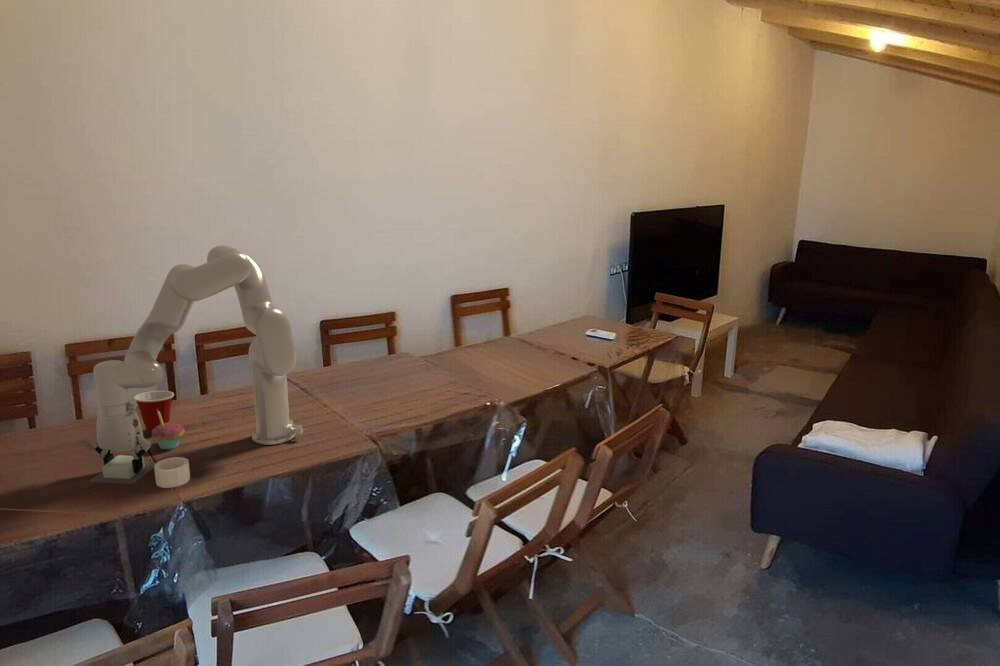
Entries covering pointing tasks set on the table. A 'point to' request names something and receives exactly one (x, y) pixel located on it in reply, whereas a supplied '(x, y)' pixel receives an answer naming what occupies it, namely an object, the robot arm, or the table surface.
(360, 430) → the table surface
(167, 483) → the bowl
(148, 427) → the plastic cup
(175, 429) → the cupcake
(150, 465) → the mat
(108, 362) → the robot arm
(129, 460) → the block
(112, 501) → the table surface
